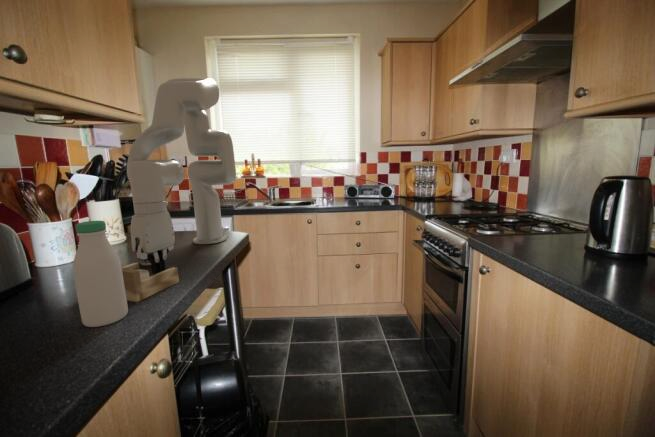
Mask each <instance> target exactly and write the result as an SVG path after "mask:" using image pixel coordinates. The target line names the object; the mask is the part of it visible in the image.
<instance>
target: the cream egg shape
mask: <svg viewBox="0 0 655 437" xmlns="http://www.w3.org/2000/svg"><path fill="white" fill-rule="evenodd" d="M139 273H140V280H143V279H145V278H148V277H150V276H151V275H150V272H149V270H147V269H140V270H139Z"/></svg>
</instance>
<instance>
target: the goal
mask: <svg viewBox="0 0 655 437" xmlns="http://www.w3.org/2000/svg"><path fill="white" fill-rule="evenodd" d="M121 268H122V273H123V279H124V286H125V292H126V299H127V302H128V301H129V302H135V303H139V302H141V301H143V300H145V299H148V297H151V296H153V295H155V294H157V293H159V292H162V291H164V290H166V289H167V288H169V287H172V286H174V285H176V284H178V283H180V279H179V270H178V266H171V267H169V268H168V269H166V270H164V271H162V272H160V273H157V274H155V275H153V274H152V275H149V276H150V277H148V278H145V279H143V280H140V273H139V270H141V267H140V262H133V263H130V264H127V265H123V266H121Z"/></svg>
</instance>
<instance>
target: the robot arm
mask: <svg viewBox="0 0 655 437" xmlns="http://www.w3.org/2000/svg"><path fill="white" fill-rule="evenodd" d="M219 99H220V89H219V86H218V84H217V82H216V81H215V80H214V79H213V78H211V77H210V78H209V77H193V78H191V77H184V78H183V77H179V78H172V79H169V80H167V81H165V82H163V83H161V84H160V85H159V86H158V88H157V91H156V96H155V103H154V108H153V114H152V115H153V116H152V121H151V123H150V124H151V125H149V126H148V127H147V128H146V129H144V131H142V133H140V135H139V136H138V137H137V138H136V139H135V140H134V141H133V143H132V144H131V146H130V149H129V151H128V158H127V163H126V176H127V179H128V181H129V182H130V190H131V198H132V203H133V211H134V214H133V215H132V216H131V220H130V221H131V222H130V237H131V238H130V239H131V240H130V242H131V249H132V252H133V253H135V254H136V253H137V254H136V258H137V259H138V260H139V259H147V260H148V261H149V262H151V265H150V266H151V273H152V275H155V274H157V273H160V272H162V271H164V270H167V269H166V260H167V257H168V253H169V252H170V251H172V250H173V249H174V248H175V246H174V244H175V243H176V242H175V241H176V240H175V239H176V237H175V229H174V226H173V225H174V224H173V221H172V217H171V215H170V211H168V207H169V202H168V201H167V197H166V189H165V188H166V187H171V188H172V187H176V186H179V185H181V183H182V182H183V181H184V179H185V176H186V175H185V174H186V173H185V168H184V167H183V165H182V164H181V163H180V162H179V161H177V160H175V159H174V160H173V159H149V158H150V156H151V155H152V154H153V152H155V151H156V150H157V149H159V148H161V147H162V146H163V147H164V146H165V145H167V144H170V143H171V142H173V141H175V140H178V139H179V138H182V136H183V135H184V134H185V138H186V142H187V148H188V151H189V154H190V155H192V156H194V157H200V158H201V157H204V158H205V157H218V158H220V159H202V160H201V159H199V160H194V161H191V162H190V163H189V164H188V166H187V177H188V179H189V183H190V187H191V191H192V192H191V193H192V198H193V199H192V200H193V208H194V219H195V228H196V236H195V237H194V238H193V243H194V244H197V245H211V244H218V243H222V242H225V241H226V240H227V238H228V236H227V235H226V234H224V233H225V232H229V230H230V228H229V227H228V226H224V227H223V224H222V214H221V213H222V212H221V201H220V196H219V193H218V191H217V190H216V189H215V187H213V186H220V185H221V186H222V185H223V186H226V185H232V184H234V183H235V181H236V180H237V169H236V161H235V152H234V145H233V140H232V137H231V135H230V132H228V131H226V130H223V129H214V130H213V129H211V128H210V122H209V115H208V114H207V112H206V111H207V110H208V109H210V108H212V107H214V106H215V105H217V103H218V102H219ZM184 132H185V133H184ZM145 253H146V254H145Z"/></svg>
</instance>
